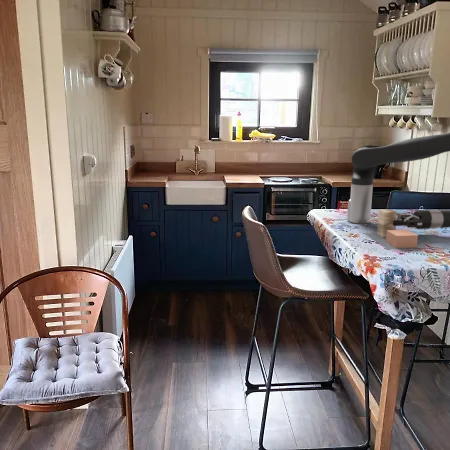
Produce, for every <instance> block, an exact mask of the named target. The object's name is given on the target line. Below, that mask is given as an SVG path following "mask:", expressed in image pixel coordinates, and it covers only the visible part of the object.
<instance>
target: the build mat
mask: <svg viewBox="0 0 450 450" xmlns="http://www.w3.org/2000/svg"><path fill="white" fill-rule="evenodd" d="M363 234H364V235H365V236H367V237H368V238H370V239H371V240H373V241H374V242H375V243H377V244H379V245H380V246H382V247H383V248H385V249H386V250H387V251H388V250H414V249H415V250H417V249H418V250H419V249H428V247H427V246H425V245H423V244H421V243H419V242H418V241H417V247H408V248H395V247H393V246H392V245H390V244H389V243H387V242H386V237H381V236H380V235H378V234H377V232H363Z"/></svg>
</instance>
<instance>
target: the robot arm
mask: <svg viewBox="0 0 450 450" xmlns="http://www.w3.org/2000/svg"><path fill="white" fill-rule="evenodd" d="M447 152H450V132H448V133H447V132H446V133H441V134H433V135H425V136H420V137H418V136H417V137H413V138H408V139H403V140H400V141H397V142H393V143H391V144H387V145H384V146H379V147H366V146H365V147H360V148H358V149H356V150H355V151H354V152H353V154H352V155H351V163H352V165H353V169H352V176H351V181H350V182H351V184H350V199H348V200H347V201H348V202H347V203H348V204H347V219H346V220H347V221H348V222H350V223H354V224H369V223H371V215H372V198H373V188H374V187H373V186H374V185H373V184H374V179H375V170H376V167H377V166H380V165H385V164H397V163H407V162H414V161H415V162H416V161H420V160H425V159H428V158H432V157H435V156H438V155H441V154H443V153H447ZM393 225H394V226H396V227H404V228H405V227H406V228H407V229H409V228H415V229H416V230H429V229H431V230H433V229H445V228H446V229H447V228H448V229H449V228H450V210H449V209H447V210H445V209H443V210H440V209H439V210H437V209H418V210H415V211H414V212H413V214H412V215H411V214H410V213H406V212H402V213H401V212H399V213H398V212H397V217H396V220H394V221H393Z"/></svg>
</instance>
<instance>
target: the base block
mask: <svg viewBox="0 0 450 450" xmlns="http://www.w3.org/2000/svg"><path fill="white" fill-rule="evenodd" d="M418 237H419V235H418V234H416V233H414V232H413V231H411V230H408V229H395V230H387V234H386V242H387V243H389V244H390V245H392V246H393V247H395V248H408V247H417V242H418Z"/></svg>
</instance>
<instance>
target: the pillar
mask: <svg viewBox="0 0 450 450" xmlns="http://www.w3.org/2000/svg"><path fill="white" fill-rule="evenodd" d="M397 213H398V212H397V211H396V210H393V209H392V208H389V209H387V208H386V209H378V220H377V232H376V233H377V234H378V235H380V236H381V237H386V234H387V230H396V227H397V226H394V225H393V221H394V220H396V218H397V217H398V216H397Z"/></svg>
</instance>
